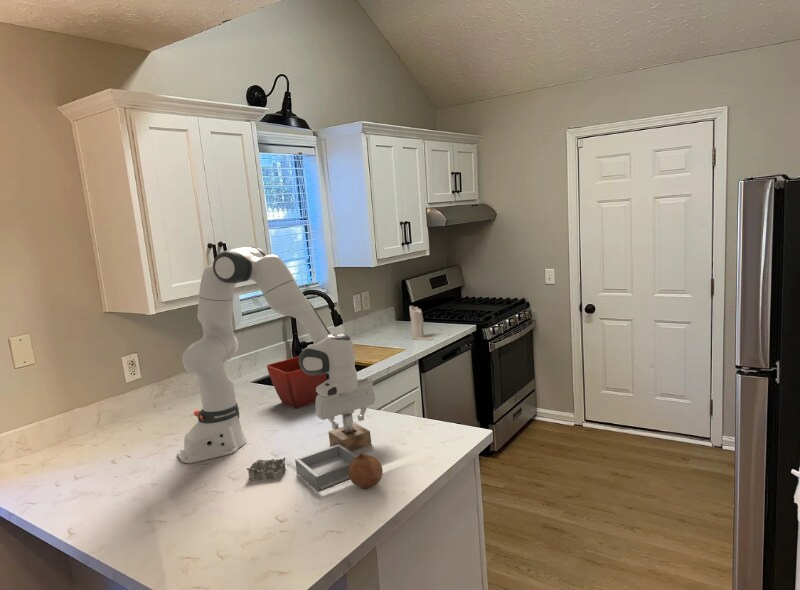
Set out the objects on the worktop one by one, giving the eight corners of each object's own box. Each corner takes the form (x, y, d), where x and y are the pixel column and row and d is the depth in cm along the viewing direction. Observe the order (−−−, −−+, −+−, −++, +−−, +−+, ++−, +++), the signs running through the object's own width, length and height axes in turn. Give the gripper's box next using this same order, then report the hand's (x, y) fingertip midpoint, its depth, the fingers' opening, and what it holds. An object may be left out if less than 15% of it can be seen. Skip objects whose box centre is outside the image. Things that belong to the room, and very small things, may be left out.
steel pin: (347, 448, 173) (343, 413, 171) (340, 444, 177) (336, 409, 175) (360, 444, 176) (356, 409, 174) (353, 439, 180) (349, 405, 178)
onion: (344, 486, 152) (341, 453, 151) (374, 476, 157) (371, 443, 155) (359, 500, 144) (355, 465, 142) (390, 489, 148) (386, 454, 147)
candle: (430, 340, 314) (427, 306, 311) (409, 339, 321) (407, 306, 318) (436, 337, 320) (433, 304, 317) (415, 336, 327) (412, 304, 324)
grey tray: (318, 492, 150) (316, 477, 150) (296, 473, 163) (295, 459, 162) (364, 474, 158) (363, 459, 158) (341, 457, 171) (339, 444, 170)
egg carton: (246, 481, 161) (244, 469, 160) (255, 469, 168) (253, 457, 168) (281, 480, 160) (279, 467, 159) (288, 468, 167) (286, 455, 167)
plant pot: (291, 413, 214) (286, 372, 212) (270, 403, 229) (265, 364, 227) (332, 400, 226) (328, 361, 223) (310, 391, 241) (305, 354, 238)
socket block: (344, 458, 170) (342, 440, 169) (330, 448, 178) (328, 431, 177) (371, 448, 175) (370, 431, 174) (356, 439, 184) (355, 422, 183)
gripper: (366, 373, 182) (371, 413, 184) (311, 389, 171) (316, 430, 173) (376, 377, 176) (380, 417, 178) (319, 393, 165) (324, 436, 167)
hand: (348, 424), depth 175 cm, fingers open, 8 cm apart
